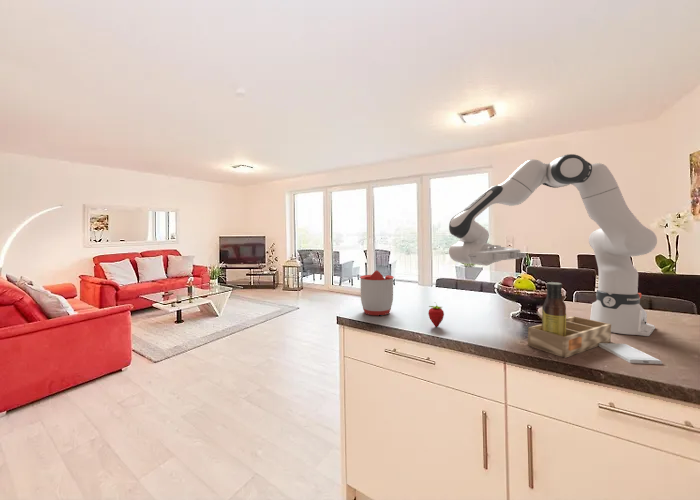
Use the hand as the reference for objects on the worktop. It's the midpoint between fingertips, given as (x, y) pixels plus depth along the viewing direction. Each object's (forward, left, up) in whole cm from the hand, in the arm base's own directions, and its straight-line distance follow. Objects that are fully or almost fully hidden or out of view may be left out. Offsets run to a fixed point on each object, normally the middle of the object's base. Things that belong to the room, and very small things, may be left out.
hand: (516, 256), depth 106 cm
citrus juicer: (+28, -49, -29) cm, 63 cm away
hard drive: (-13, +27, -29) cm, 42 cm away
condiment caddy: (-7, +15, -28) cm, 33 cm away
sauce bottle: (+2, +14, -27) cm, 31 cm away
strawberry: (+20, -19, -29) cm, 40 cm away
